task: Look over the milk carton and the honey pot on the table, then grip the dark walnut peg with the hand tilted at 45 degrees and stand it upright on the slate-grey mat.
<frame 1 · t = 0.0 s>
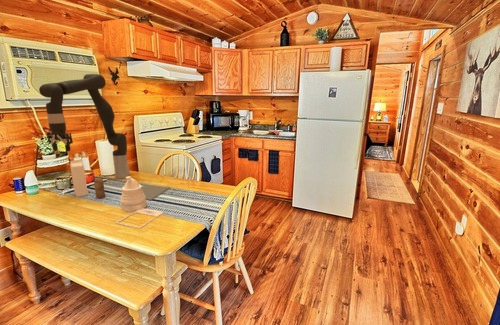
hand: (61, 150, 145), 29 cm above the table, tool pointing down, fingers open, 8 cm apart
milk: (81, 194, 160), on the table
photo frame: (140, 219, 130), on the table
walnut peg: (100, 197, 156), on the table
honey pot: (134, 207, 143), on the table
slate mat: (148, 192, 164), on the table
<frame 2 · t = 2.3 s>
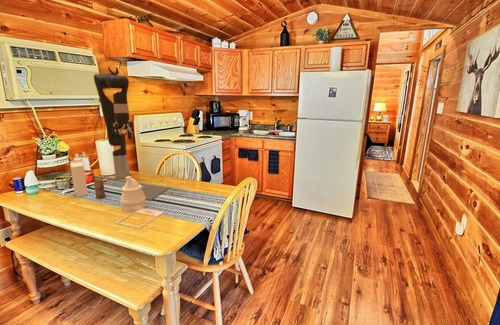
hand: (124, 140, 151), 35 cm above the table, tool pointing down, fingers open, 8 cm apart
nothing on the table moved.
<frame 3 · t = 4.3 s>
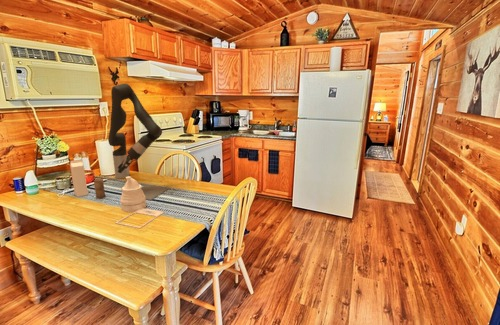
hand: (118, 170, 157), 15 cm above the table, tool tilted 45°, fingers open, 8 cm apart
nothing on the table moved.
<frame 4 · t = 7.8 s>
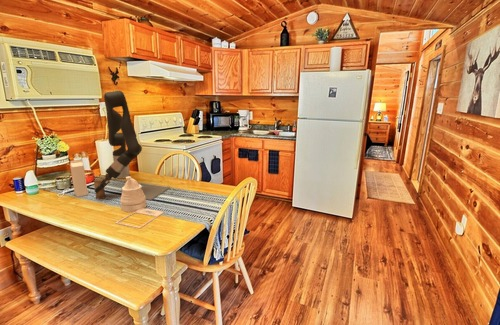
hand: (96, 190, 154), 5 cm above the table, tool tilted 45°, fingers closed on walnut peg, 4 cm apart
walnut peg: (100, 197, 156), on the table, touching gripper
everything else where it was.
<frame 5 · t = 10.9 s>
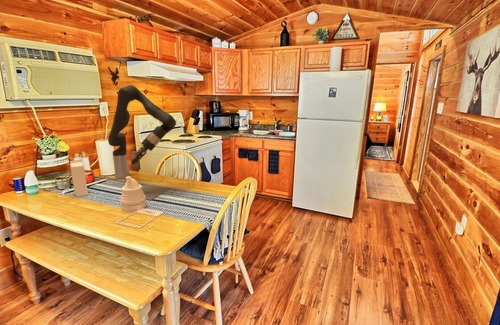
hand: (132, 162, 156), 21 cm above the table, tool tilted 45°, fingers closed on walnut peg, 4 cm apart
walnut peg: (136, 169, 158), point 16 cm above the table, touching gripper
everything else where it was.
when the fingers open (7 cm above the table, at t = 14.4 s): walnut peg drops 1 cm, resting on slate mat.
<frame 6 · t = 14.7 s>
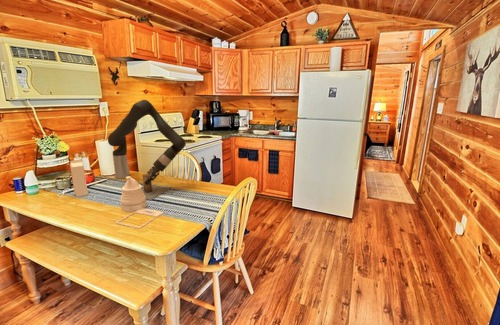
hand: (144, 182, 162), 7 cm above the table, tool tilted 45°, fingers open, 7 cm apart
walnut peg: (148, 191, 164), point 1 cm above the table, touching slate mat
everything else where it was.
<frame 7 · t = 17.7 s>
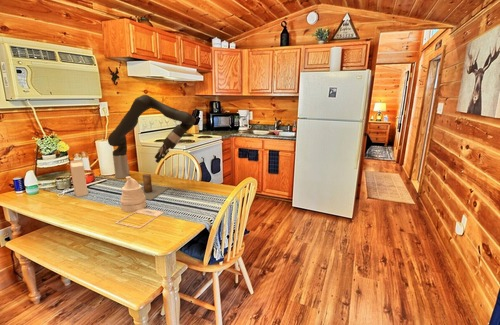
hand: (156, 160, 162), 21 cm above the table, tool tilted 40°, fingers open, 8 cm apart
nothing on the table moved.
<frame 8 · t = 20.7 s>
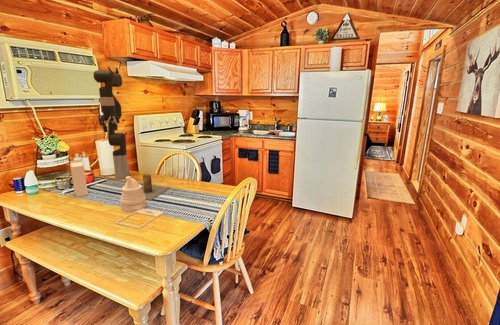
hand: (110, 131, 161), 38 cm above the table, tool pointing down, fingers open, 8 cm apart
nothing on the table moved.
at the end: walnut peg inside the target area on the slate mat (0.2 cm from its centre), point 0.6 cm above the slate mat's base; walnut peg tilted 0°; the gripper is holding nothing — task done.
